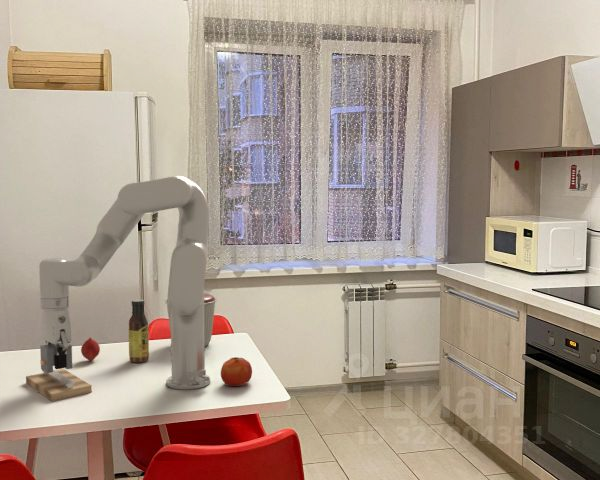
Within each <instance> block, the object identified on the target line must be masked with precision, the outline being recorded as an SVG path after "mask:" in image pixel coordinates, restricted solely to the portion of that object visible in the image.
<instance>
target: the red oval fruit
mask: <svg viewBox="0 0 600 480" xmlns="http://www.w3.org/2000/svg"><path fill="white" fill-rule="evenodd" d="M100 348H101V347H100V344H99V343H98V342H97V341H96V340H94V339H93V337H92V336H89V338H88V339H87V340H85V341H84V342H83V344H82V346H81V348H80V352H81V355H82V356H83V358H85V359H86V360H88V361H89V362H93V361H94V360H95V359H96V358H97V357H98V356H99V354H100V351H101V349H100Z"/></svg>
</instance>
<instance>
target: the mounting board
mask: <svg viewBox="0 0 600 480" xmlns="http://www.w3.org/2000/svg"><path fill="white" fill-rule="evenodd" d="M54 370H55V371H57V372H58V373H60V374H62V375H63V376H65V377H66V378H68V379H70V380H71V381H73V382H75V384H73V388H71V389H66V388H65V387H63V386H62V385H60V384H59V383H57V382H55V381H54V380H52V379H51V378H49V377H47V376H46V375H44V374H43V372H41V373H37V374H30V375H26V376H25V384H27V385H28V386H29V387H31V388H33V390H34V391H36V392H38V393H39V394H41V395H42V396H44V397H45V398H47V399H48V400H50V401H51V402H55V401H60V400H63V399H65V400H66V399H68V398H73V397H78V396H81V395H85V394H90V393H92V384H90V383H88V382H87V381H85V380H83V379H81V378H80V377H78V376H77V375H75V374H73V373H72V372H70V371H68V370H67V369H65V368H62V369H54Z"/></svg>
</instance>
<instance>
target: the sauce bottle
mask: <svg viewBox="0 0 600 480" xmlns="http://www.w3.org/2000/svg"><path fill="white" fill-rule="evenodd" d="M131 308H132V311H131V314H132V315H131V316H130V318H129V320H128V356H129V362H131V363H146V362H147V361H149V355H150V353H149V352H150V347H149V345H150V342H149V337H150V335H149V322H148V320H147V317H146V314H145V300H144V299H133V300H131Z"/></svg>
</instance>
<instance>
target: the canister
mask: <svg viewBox="0 0 600 480" xmlns="http://www.w3.org/2000/svg"><path fill="white" fill-rule="evenodd" d="M217 301H218V299H217V297H215V296H214V295H212V294H210V293H206V292H204V347H206V346H208V344H210V342H211V341H212V335H213V326H214V316H215V308H216V307H215V306H216V304H215V303H216V302H217ZM164 302H165V305H166V309H167V316H168V317H167V318H168V323H169V324H168V325H169V331H170V333H171V307H170V306H169V303H168V298H166V299H165V300H164Z"/></svg>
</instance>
